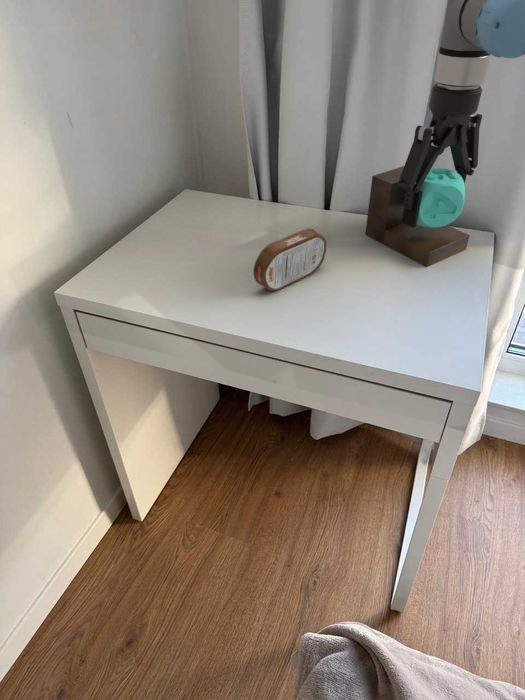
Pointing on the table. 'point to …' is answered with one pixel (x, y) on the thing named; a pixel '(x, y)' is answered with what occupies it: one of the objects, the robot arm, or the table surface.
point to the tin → (289, 259)
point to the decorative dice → (441, 198)
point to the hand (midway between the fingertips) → (430, 216)
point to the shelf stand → (408, 241)
